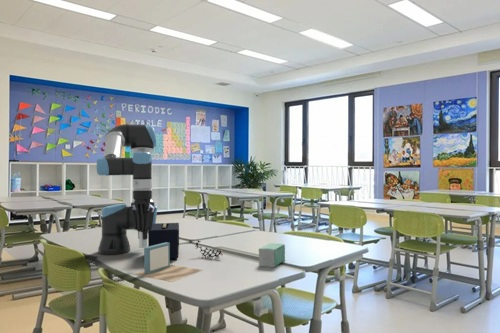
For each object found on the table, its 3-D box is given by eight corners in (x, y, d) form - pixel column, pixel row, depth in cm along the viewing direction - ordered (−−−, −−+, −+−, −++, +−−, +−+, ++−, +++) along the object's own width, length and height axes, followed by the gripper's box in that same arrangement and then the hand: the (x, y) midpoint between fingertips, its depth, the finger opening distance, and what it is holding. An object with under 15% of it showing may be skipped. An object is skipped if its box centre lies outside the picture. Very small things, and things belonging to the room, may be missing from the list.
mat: (133, 275, 148) (133, 274, 148) (165, 265, 164) (165, 264, 164) (172, 283, 138) (172, 281, 138) (203, 271, 153) (203, 270, 153)
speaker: (178, 261, 171) (178, 227, 171) (148, 263, 169) (148, 228, 169) (179, 251, 192) (178, 221, 192) (152, 252, 190) (152, 221, 190)
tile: (144, 273, 149) (144, 247, 149) (166, 266, 160) (165, 242, 160) (148, 274, 148) (148, 248, 148) (170, 267, 159) (169, 242, 159)
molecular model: (220, 261, 171) (219, 242, 171) (192, 257, 178) (192, 239, 178) (227, 258, 177) (227, 240, 177) (199, 255, 183) (199, 237, 183)
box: (285, 260, 171) (285, 243, 171) (275, 267, 159) (274, 249, 159) (270, 258, 174) (269, 242, 174) (258, 266, 162) (258, 248, 162)
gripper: (124, 189, 158) (124, 247, 158) (147, 190, 152) (147, 250, 152) (138, 188, 165) (138, 244, 165) (160, 189, 158) (161, 247, 158)
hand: (143, 247), depth 158 cm, fingers closed
